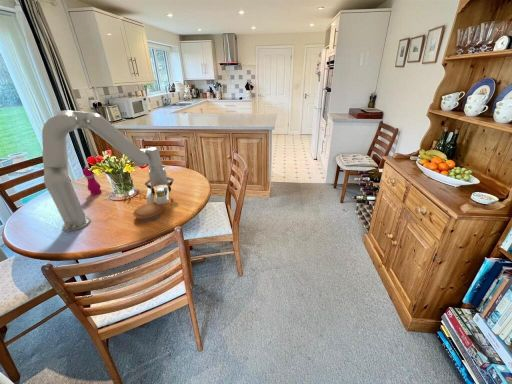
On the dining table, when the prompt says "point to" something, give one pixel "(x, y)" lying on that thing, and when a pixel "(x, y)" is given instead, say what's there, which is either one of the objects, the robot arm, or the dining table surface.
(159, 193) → the stop bar
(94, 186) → the pepper mill
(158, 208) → the pie
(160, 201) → the jamb
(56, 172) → the robot arm
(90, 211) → the dining table surface
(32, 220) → the dining table surface
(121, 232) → the dining table surface
